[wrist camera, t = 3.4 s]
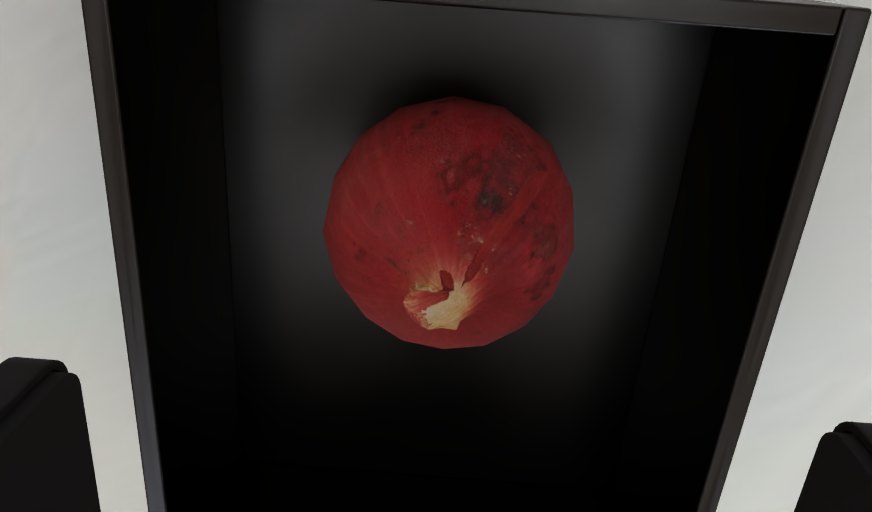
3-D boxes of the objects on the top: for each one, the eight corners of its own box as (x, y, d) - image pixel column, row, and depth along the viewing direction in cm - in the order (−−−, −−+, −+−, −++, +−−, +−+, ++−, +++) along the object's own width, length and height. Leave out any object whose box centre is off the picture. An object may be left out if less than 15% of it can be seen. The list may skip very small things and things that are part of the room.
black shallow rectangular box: (200, -53, 18) (72, -54, 12) (736, -11, 18) (874, 9, 12) (232, 462, 25) (161, 623, 19) (619, 492, 25) (669, 661, 19)
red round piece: (428, 28, 18) (408, 80, 11) (595, 154, 19) (679, 278, 12) (312, 197, 20) (230, 338, 13) (470, 302, 21) (477, 485, 14)
